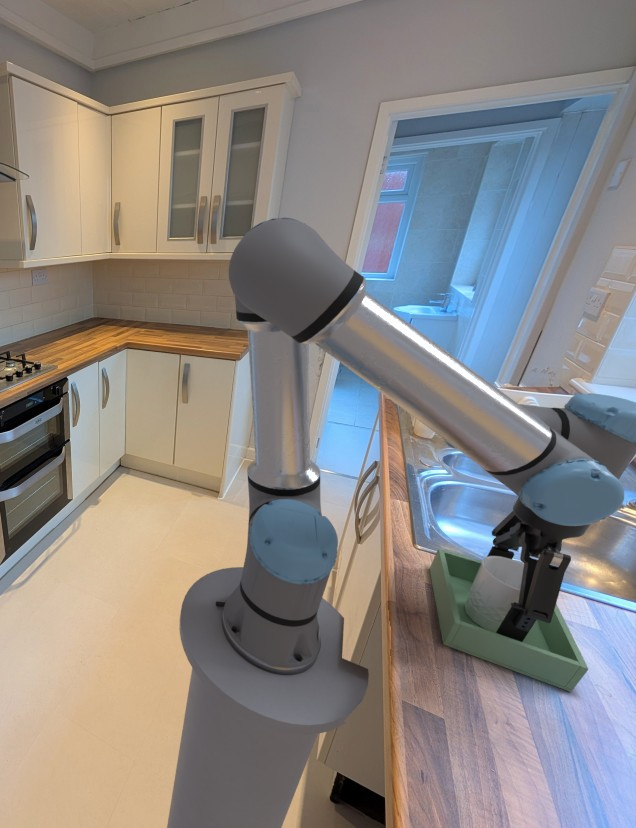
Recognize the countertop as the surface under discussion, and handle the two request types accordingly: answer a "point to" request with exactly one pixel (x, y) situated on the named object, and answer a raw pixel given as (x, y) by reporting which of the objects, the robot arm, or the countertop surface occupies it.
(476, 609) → the white cup
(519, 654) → the tray
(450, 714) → the countertop surface
